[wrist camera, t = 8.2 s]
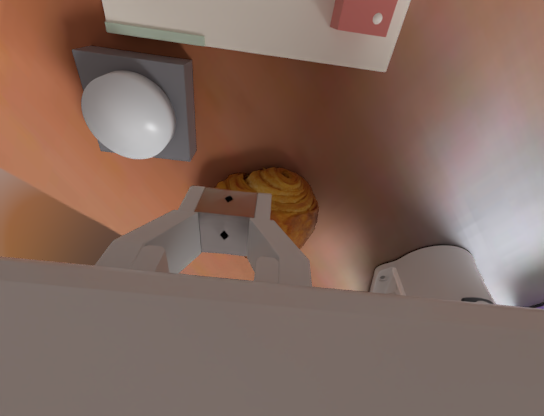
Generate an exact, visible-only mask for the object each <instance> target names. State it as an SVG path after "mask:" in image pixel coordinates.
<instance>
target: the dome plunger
mask: <svg viewBox="0 0 544 416" xmlns="http://www.w3.org/2000/svg"><path fill="white" fill-rule="evenodd" d="M81 107H82V113H83V116H84V119H85V122H86V124H87V126H88V127H89V129H90V131H91V132H92V133H93V135H94V136H95V137H96V138H97V139H98V140H99V141H100V142H101V143H102V144H103V145H104V146H106V147H107V148H108V149H110V150H111V151H113V152H115V153H117V154H119V155H121V156H124V157H127V158H132V159H147V158H151V157H154V156H156V155H157V154H159V153H160V152H161V151H162V150H163V149H164V148H165V147H166V145H167V144H168V143H169V142H170V140H171V139H172V137H173V135H174V132H175V128H176V118H175V113H174V109H173V107H172V104H171V102H170V101H169V99H168V97H167V96H166V94H165V93H164V92H163V91H162V90H161V88H160V87H158V86H157V85H156V84H155V83H154V82H153V81H151V80H150V79H148V78H146V77H145V76H143V75H141V74H138V73H135V72H131V71H124V70H120V71H114V72H110V73H108V74H105V75H103V76H100V77H98V78H96V79H94V80H92V81H91V82H90V83H89V84H88V85H87V86H86V88H85V89H84V92H83V95H82V100H81Z"/></svg>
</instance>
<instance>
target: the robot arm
mask: <svg viewBox="0 0 544 416" xmlns="http://www.w3.org/2000/svg"><path fill="white" fill-rule="evenodd" d="M271 198H272V195H271V194H269V193H254V192H242V191H232V190H226V189H219V188H211V187H203V186H191V187H190V189H189V190H188V192H187V194H186V196H185V198H184V200H183V202H182V203H181V205H180V207H179V209H178V210H173V211H171V212H169V213H167V214H165V215H163V216H161V217H159V218H157V219H155V220H153V221H151V222H149V223H147V224H145V225H143V226H141V227H139V228H137V229H135V230H133V231H131V232H129V233H127V234H125V235H123V236H121V237H119V238H117V239H115V240H113V242H112V243H111V244H110V246H109V247H108V248H107V250H106V251H105V252H104V254H103V255H102V256H101V257H100V259H99V260H98V262H97V263H96V264H95V266H93V265H82V264H72V263H62V262H51V261H41V260H31V259H20V258H10V257H0V416H544V309H539V308H529V307H518V306H508V305H497V304H496V303H495V302H494V300H493V298H492V296H491V294H490V293H489V291H488V289H487V287H486V285H485V283H484V279H483V278H482V276H481V274H480V273H479V271H478V269H477V266H476V263H475V260H474V258H473V256H472V255H471V254H470V253H469V252H468V251H467V250H465V249H462V248H460V247H456V246H448V245H440V246H431V247H426V248H422V249H419V250H416V251H414V252H411V253H409V254H407V255H405V256H403V257H402V258H400V259H398V260H396V261H393V262H390V263H386V264H383V265H380V266H378V267H377V268H376V269H375V272H374V276H373V280H372V284H371V288H370V292H363V291H352V290H341V289H331V288H320V287H312V282H311V272H310V262H309V260H308V258H307V257H306V256H305V255H304V254H303V253H302V252H301V251H300V249H299V248H298V247H297V246H296V245H295V244H294V243H293V241H292V240H291V239H290V238H289V237H288V236H287V235H286V234H285V232H284V231H283V230H282V229H281V228H280V227H279V226H278V224H277V223H276V222H275V221H274V220H270V213H271ZM201 252H209V253H222V254H231V255H239V256H247V259H248V260H249V262H250V264H251V266H252V268H253V270H254V272H255V277H254V281H249V280H238V279H228V278H218V277H207V276H197V275H186V274H178V273H179V272H180V271H182V270H183V269H184V268H185V267H186V266H187V265H188V264H189V263H191V262H192V261H193V260H194V259H195V258H196V257H197V256H198V255H200V254H201Z"/></svg>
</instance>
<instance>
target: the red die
mask: <svg viewBox="0 0 544 416" xmlns="http://www.w3.org/2000/svg"><path fill="white" fill-rule="evenodd" d="M397 1H398V0H335V4H334V9H333V14H332V19H331V23H330V27H332V28H334V29H336V30H341V31H348V32H354V33H361V34H367V35H374V36H380V37H386V35H387V32H388V29H389V26H390V23H391V20H392V17H393V14H394V10H395V7H396V4H397Z"/></svg>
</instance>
